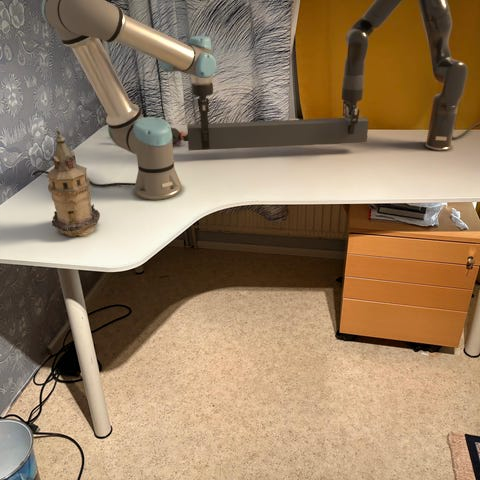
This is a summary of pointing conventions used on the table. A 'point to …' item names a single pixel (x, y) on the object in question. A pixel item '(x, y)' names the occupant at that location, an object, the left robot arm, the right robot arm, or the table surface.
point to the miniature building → (70, 193)
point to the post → (278, 133)
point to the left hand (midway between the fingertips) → (205, 145)
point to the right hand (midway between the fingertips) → (348, 131)
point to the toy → (178, 136)
